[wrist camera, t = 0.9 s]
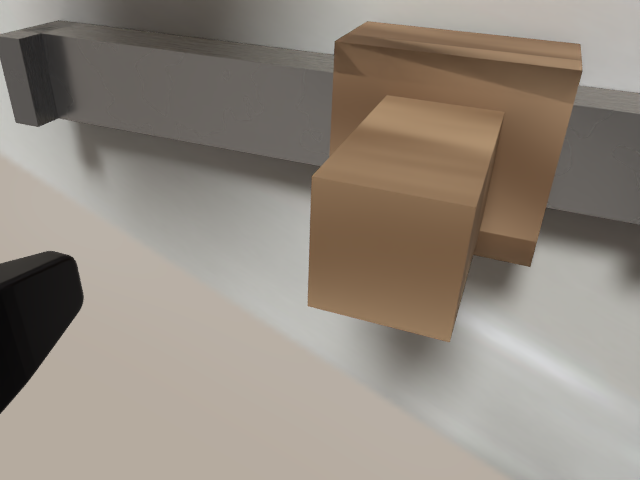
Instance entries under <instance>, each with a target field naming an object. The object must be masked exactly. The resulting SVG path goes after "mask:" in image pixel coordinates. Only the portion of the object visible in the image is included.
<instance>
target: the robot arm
mask: <svg viewBox="0 0 640 480" xmlns="http://www.w3.org/2000/svg"><path fill="white" fill-rule="evenodd" d="M83 298H84V296H83V290H82V286H81V281H80V276H79V272H78V267H77V263H76V261H75V260H74V258H73V257H71V256H69V255H66V254H62V253H59V252H55V251H47V252H43V253H39V254H35V255H31V256H28V257H24V258H20V259H16V260H12V261H8V262H5V263H1V264H0V414H1V412H2V411H3V410H4V409H5V408H6V407H7V406H8V404H9V403H10V402H11V401H12V400H13V399H14V398H15V396H16V395H17V394H18V393H19V392H20V391H21V389H22V388H23V387H24V386H25V385H26V383H27V382H28V381H29V380H30V378H31V377H32V376H33V374H34V373H35V372H36V370H37V369H38V368H39V366H40V365H41V363H42V362H43V361H44V359H45V358H46V357H47V355H48V354H49V352H50V351H51V350H52V348H53V347H54V346H55V344H56V343H57V341H58V340H59V339H60V337H61V336H62V334H63V333H64V332H65V330H66V329H67V328H68V326H69V325H70V323H71V322H72V320H73V319H74V318H75V316H76V315H77V313H78V312H79V311H80V309H81V307H82V304H83Z"/></svg>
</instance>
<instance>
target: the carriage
mask: <svg viewBox="0 0 640 480" xmlns="http://www.w3.org/2000/svg"><path fill="white" fill-rule="evenodd" d="M581 74H582V58H581V46H580V44H574V43H565V42H555V41H546V40H537V39H527V38H518V37H509V36H499V35H490V34H481V33H471V32H462V31H452V30H443V29H434V28H424V27H415V26H406V25H396V24H387V23H377V22H368V21H367V22H366V23H364V24H362V25H361V26H359V27H357V28H356V29H354V30H353V31H351V32H349V33H348V34H346V35H344V36H343V37H341V38H339V39H338V40H336V41H335V48H334V70H333V91H332V112H331V133H330V154H329V158H328V159H327V160H326V161H325V163H324V164H323V165H322V166H321V167H320V168H319V169H318V170H317V171H316V172H315V173H314V174H313V176H312V182H311V215H310V247H309V279H308V306H310V307H314V308H318V309H322V310H325V311H329V312H333V313H337V314H341V315H345V316H349V317H353V318H357V319H361V320H365V321H368V322H372V323H376V324H380V325H384V326H388V327H392V328H396V329H400V330H404V331H407V332H411V333H415V334H419V335H423V336H427V337H431V338H435V339H439V340H443V341H447V342H450V339H451V336H452V332H453V328H454V324H455V321H456V317H457V313H458V309H459V306H460V302H461V298H462V295H463V291H464V287H465V283H466V280H467V276H468V272H469V268H470V265H471V261H472V257H473V255H477V256H481V257H486V258H491V259H495V260H500V261H505V262H510V263H514V264H519V265H524V266H528V267H530V266H531V262H532V258H533V254H534V251H535V247H536V243H537V239H538V236H539V232H540V228H541V224H542V221H543V217H544V213H545V209H546V206H547V202H548V198H549V194H550V191H551V187H552V183H553V179H554V176H555V172H556V168H557V164H558V161H559V157H560V153H561V149H562V146H563V142H564V138H565V134H566V131H567V127H568V123H569V119H570V116H571V112H572V108H573V104H574V101H575V97H576V93H577V89H578V86H579V82H580V78H581Z"/></svg>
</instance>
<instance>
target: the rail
mask: <svg viewBox="0 0 640 480" xmlns="http://www.w3.org/2000/svg"><path fill="white" fill-rule="evenodd" d="M0 60H1V64H2V68H3V72H4V76H5V80H6V84H7V88H8V92H9V97H10V101H11V105H12V109H13V113H14V117H15V121H16V123H20V124H26V125H31V126H36V127H39V126H42V125H44V124H46V123H49V122H51V121H53V120H55V119H58V118H60V119H65V120H71V121H76V122H82V123H87V124H92V125H98V126H103V127H109V128H114V129H120V130H125V131H131V132H136V133H142V134H147V135H153V136H158V137H163V138H169V139H174V140H180V141H185V142H191V143H196V144H202V145H207V146H213V147H218V148H224V149H229V150H234V151H240V152H245V153H251V154H256V155H262V156H267V157H273V158H278V159H284V160H289V161H295V162H300V163H305V164H311V165H316V166H322V165H323V164H324V163H325V161H326V160H327V159H328V158H329V154H330V133H331V112H332V91H333V70H334V55H331V54H323V53H315V52H307V51H299V50H291V49H283V48H275V47H267V46H259V45H251V44H243V43H235V42H227V41H219V40H211V39H203V38H195V37H187V36H179V35H171V34H163V33H155V32H147V31H139V30H131V29H123V28H115V27H108V26H100V25H92V24H84V23H76V22H68V21H60V20H58V21H54V22H50V23H46V24H42V25H37V26H33V27H29V28H25V29H21V30H16V31H12V32H8V33H4V34H0ZM546 208H551V209H557V210H562V211H568V212H573V213H579V214H584V215H589V216H595V217H600V218H606V219H611V220H617V221H622V222H628V223H633V224H639V225H640V93H634V92H626V91H618V90H610V89H602V88H594V87H586V86H578V89H577V93H576V97H575V101H574V104H573V108H572V112H571V116H570V119H569V123H568V127H567V131H566V134H565V138H564V142H563V146H562V149H561V153H560V157H559V161H558V164H557V168H556V172H555V176H554V179H553V183H552V187H551V191H550V194H549V198H548V202H547V206H546Z"/></svg>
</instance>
